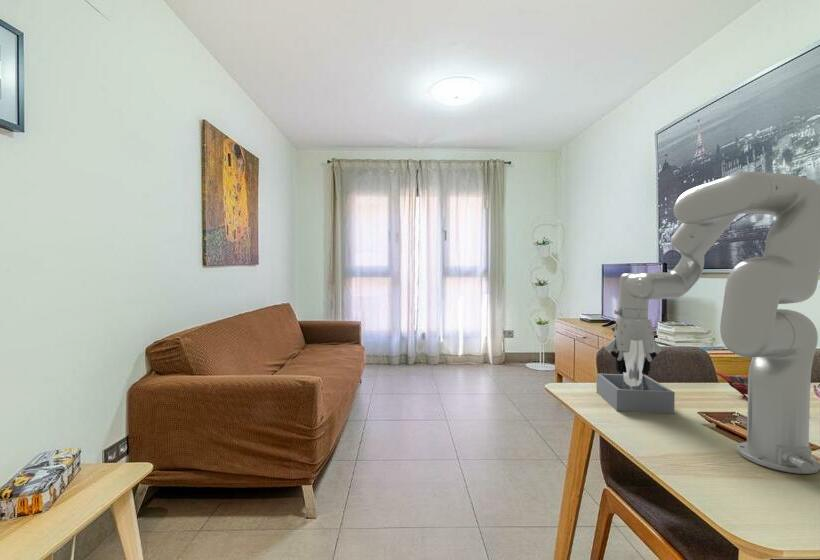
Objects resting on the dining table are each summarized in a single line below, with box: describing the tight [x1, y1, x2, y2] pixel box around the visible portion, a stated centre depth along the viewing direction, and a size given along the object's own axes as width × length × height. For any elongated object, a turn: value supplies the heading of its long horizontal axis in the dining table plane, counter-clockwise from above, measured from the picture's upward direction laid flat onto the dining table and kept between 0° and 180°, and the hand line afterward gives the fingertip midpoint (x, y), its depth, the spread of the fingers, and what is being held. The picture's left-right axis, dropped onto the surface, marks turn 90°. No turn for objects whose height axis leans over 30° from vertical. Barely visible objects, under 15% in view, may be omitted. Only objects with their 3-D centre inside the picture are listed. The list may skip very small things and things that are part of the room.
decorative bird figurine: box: [713, 370, 749, 401], centre depth 124 cm, size 3×18×10 cm, turn 14°
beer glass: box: [621, 340, 646, 390], centre depth 120 cm, size 7×7×15 cm
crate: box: [596, 373, 676, 414], centre depth 120 cm, size 18×15×6 cm
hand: (632, 372), depth 120 cm, fingers closed on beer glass, 6 cm apart
